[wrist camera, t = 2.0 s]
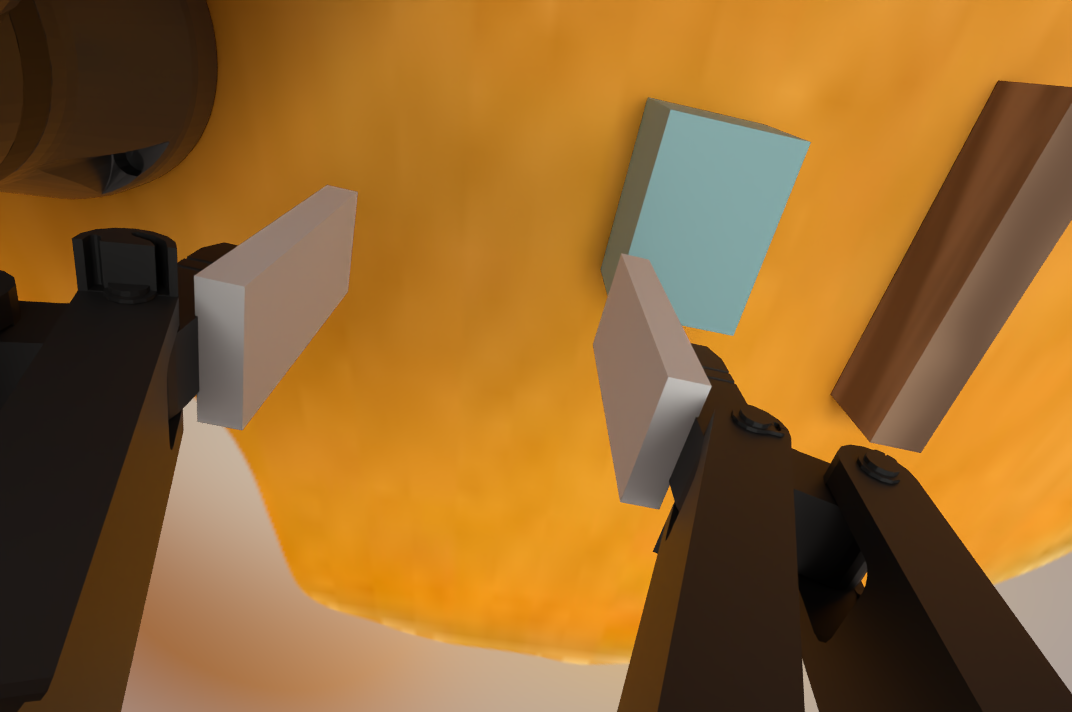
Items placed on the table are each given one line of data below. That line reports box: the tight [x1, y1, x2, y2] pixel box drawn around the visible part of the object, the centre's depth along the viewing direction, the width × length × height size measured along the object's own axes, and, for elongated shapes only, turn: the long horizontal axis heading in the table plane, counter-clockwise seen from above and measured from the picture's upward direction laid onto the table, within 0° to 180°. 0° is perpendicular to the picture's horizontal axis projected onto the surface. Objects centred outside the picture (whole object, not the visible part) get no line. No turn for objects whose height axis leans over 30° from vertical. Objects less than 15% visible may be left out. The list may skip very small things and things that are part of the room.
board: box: [831, 81, 1072, 453], centre depth 31 cm, size 3×18×5 cm, turn 167°
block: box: [601, 97, 811, 336], centre depth 30 cm, size 6×9×6 cm, turn 168°
